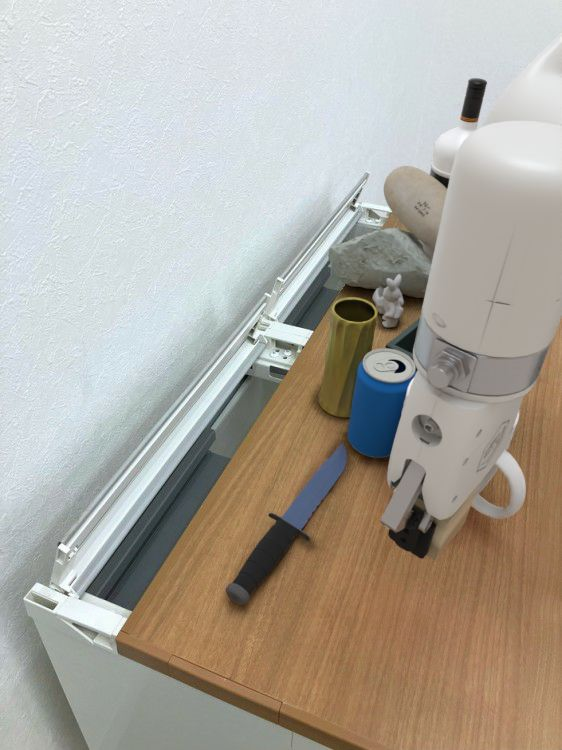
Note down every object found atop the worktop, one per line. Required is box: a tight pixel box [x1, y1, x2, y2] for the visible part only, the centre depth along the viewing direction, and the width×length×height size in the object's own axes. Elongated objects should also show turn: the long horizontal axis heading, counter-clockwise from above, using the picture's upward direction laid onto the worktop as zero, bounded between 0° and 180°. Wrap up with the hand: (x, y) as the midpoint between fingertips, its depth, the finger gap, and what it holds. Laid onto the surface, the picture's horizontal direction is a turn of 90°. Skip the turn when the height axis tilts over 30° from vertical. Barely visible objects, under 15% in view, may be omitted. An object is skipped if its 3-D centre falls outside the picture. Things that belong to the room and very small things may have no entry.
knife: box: [225, 442, 348, 606], centre depth 65 cm, size 24×2×5 cm
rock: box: [327, 227, 432, 299], centre depth 96 cm, size 18×14×10 cm
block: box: [384, 486, 477, 562], centre depth 48 cm, size 5×5×5 cm
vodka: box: [418, 77, 488, 260], centre depth 96 cm, size 9×9×30 cm
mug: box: [401, 378, 527, 520], centre depth 64 cm, size 15×11×13 cm
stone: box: [383, 165, 447, 250], centre depth 93 cm, size 12×7×15 cm
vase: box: [318, 296, 379, 418], centre depth 75 cm, size 6×6×14 cm
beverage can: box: [347, 348, 416, 459], centre depth 70 cm, size 6×6×12 cm
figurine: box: [371, 274, 405, 328], centre depth 92 cm, size 8×5×8 cm
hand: (425, 522), depth 49 cm, fingers closed on block, 4 cm apart
